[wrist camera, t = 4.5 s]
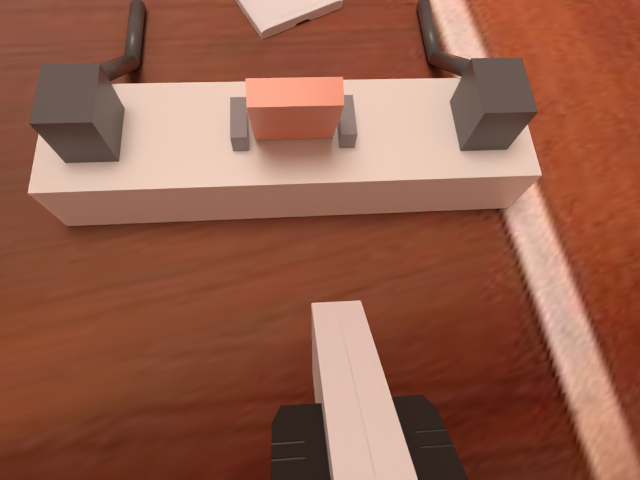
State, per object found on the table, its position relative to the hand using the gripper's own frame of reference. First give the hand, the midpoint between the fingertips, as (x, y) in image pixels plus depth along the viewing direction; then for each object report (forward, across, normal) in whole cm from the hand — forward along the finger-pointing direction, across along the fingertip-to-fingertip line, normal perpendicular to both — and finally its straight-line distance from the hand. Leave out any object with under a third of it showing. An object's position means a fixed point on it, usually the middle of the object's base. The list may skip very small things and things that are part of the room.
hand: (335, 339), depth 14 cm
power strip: (+26, -1, +4) cm, 27 cm away
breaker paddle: (+18, -1, +3) cm, 19 cm away
